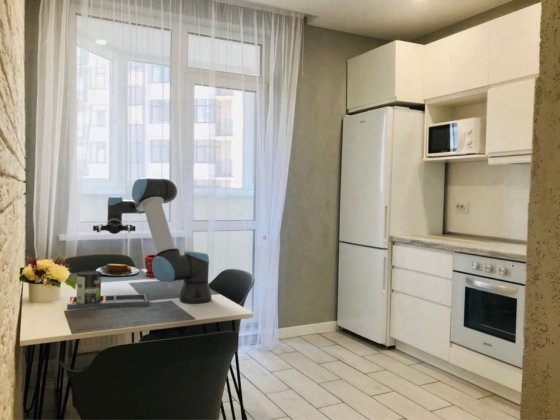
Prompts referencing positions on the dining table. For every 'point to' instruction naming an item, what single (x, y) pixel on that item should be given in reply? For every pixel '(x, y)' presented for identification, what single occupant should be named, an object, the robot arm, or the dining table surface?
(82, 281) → the coffee can
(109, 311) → the dining table surface
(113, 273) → the food on plate
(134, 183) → the robot arm
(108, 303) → the gray rectangular tray
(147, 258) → the plant pot
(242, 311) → the dining table surface
